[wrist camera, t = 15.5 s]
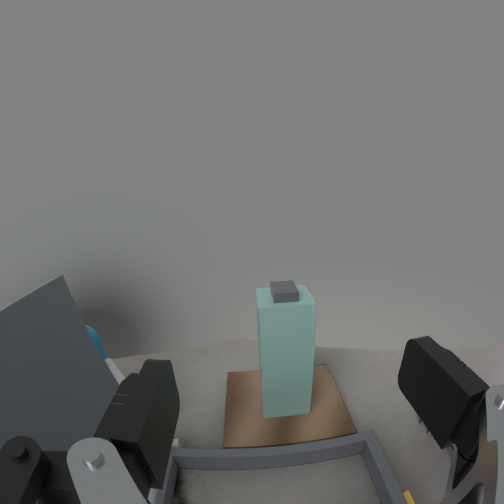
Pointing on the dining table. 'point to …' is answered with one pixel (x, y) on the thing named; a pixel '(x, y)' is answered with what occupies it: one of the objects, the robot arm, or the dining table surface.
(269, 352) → the block
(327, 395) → the walnut board
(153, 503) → the equipment case
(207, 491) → the dining table surface
